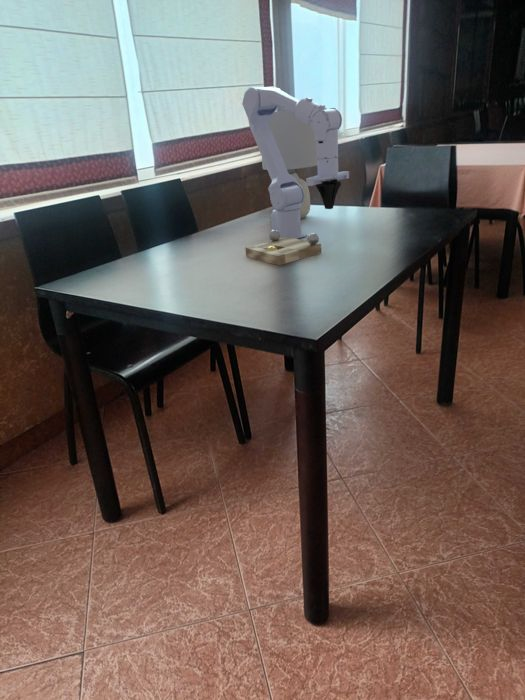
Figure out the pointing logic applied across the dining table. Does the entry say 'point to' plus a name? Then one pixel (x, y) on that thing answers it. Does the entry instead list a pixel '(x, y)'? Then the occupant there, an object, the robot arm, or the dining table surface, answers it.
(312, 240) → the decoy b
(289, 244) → the plate
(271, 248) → the ball
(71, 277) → the dining table surface
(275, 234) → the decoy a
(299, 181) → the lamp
